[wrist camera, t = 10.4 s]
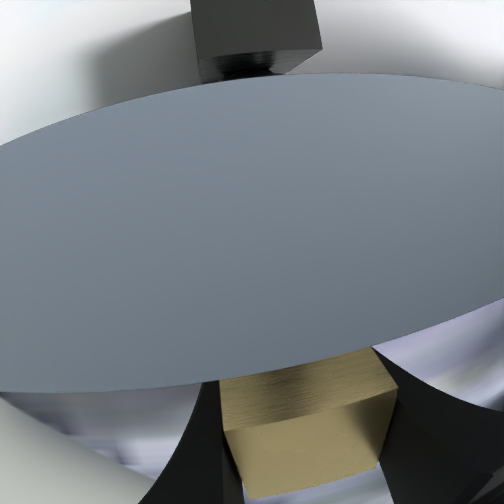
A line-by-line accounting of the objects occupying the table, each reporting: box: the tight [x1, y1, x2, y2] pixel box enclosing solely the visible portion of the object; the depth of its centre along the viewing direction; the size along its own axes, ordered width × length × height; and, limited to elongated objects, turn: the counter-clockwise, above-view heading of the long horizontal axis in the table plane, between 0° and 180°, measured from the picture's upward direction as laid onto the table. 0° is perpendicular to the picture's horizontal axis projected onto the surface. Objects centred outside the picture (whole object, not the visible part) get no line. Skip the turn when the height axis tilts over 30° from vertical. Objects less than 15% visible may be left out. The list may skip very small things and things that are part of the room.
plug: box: [190, 0, 398, 499], centre depth 7 cm, size 14×4×5 cm, turn 8°
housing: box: [0, 73, 504, 393], centre depth 6 cm, size 3×17×7 cm, turn 98°
